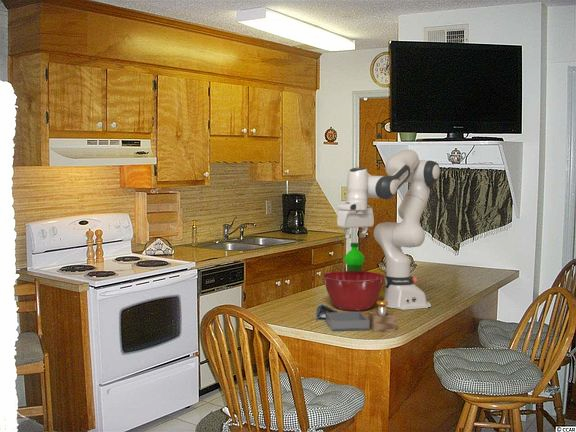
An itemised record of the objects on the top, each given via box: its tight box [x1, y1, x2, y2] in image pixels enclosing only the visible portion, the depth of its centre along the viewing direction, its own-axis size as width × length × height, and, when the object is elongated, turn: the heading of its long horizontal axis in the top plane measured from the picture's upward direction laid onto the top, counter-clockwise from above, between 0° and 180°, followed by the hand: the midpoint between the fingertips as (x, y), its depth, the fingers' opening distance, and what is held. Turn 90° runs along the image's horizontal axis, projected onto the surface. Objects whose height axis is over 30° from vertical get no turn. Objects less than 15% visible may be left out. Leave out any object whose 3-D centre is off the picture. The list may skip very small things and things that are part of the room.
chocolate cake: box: [315, 302, 338, 322], centre depth 271 cm, size 10×7×12 cm
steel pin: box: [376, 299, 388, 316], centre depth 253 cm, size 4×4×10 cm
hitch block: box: [367, 311, 397, 333], centre depth 253 cm, size 9×9×6 cm
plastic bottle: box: [344, 242, 365, 271], centre depth 332 cm, size 10×10×25 cm
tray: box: [325, 311, 370, 332], centre depth 258 cm, size 15×15×4 cm
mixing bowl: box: [322, 270, 385, 312], centre depth 290 cm, size 28×28×15 cm
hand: (355, 237), depth 269 cm, fingers open, 8 cm apart
